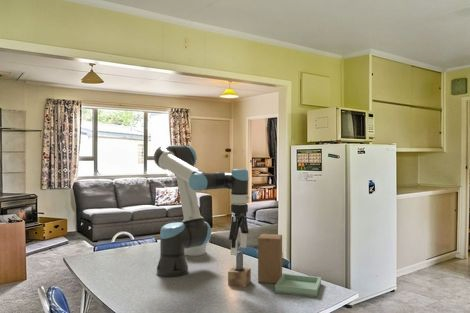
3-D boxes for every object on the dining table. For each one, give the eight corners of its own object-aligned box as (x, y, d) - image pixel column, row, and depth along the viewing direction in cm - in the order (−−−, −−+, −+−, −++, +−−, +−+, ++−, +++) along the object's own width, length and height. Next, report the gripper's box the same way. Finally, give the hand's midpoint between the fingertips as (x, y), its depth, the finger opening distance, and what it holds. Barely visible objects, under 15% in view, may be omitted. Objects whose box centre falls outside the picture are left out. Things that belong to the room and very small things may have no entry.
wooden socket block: (228, 285, 167) (228, 271, 167) (233, 279, 174) (233, 266, 174) (245, 287, 164) (245, 273, 164) (250, 281, 172) (250, 268, 172)
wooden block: (280, 284, 168) (280, 238, 168) (257, 282, 170) (257, 237, 170) (282, 277, 178) (282, 234, 178) (261, 275, 180) (261, 233, 180)
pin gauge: (235, 283, 168) (235, 252, 168) (237, 281, 171) (237, 250, 171) (241, 284, 167) (241, 252, 167) (243, 282, 170) (243, 251, 170)
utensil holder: (205, 256, 216) (205, 225, 216) (179, 256, 216) (179, 225, 216) (207, 249, 230) (207, 220, 231) (183, 249, 231) (183, 220, 231)
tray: (274, 292, 157) (274, 285, 157) (283, 280, 173) (283, 273, 173) (316, 297, 152) (316, 289, 152) (321, 284, 168) (321, 277, 168)
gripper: (238, 207, 156) (238, 259, 156) (255, 200, 180) (254, 245, 180) (221, 206, 159) (221, 257, 159) (240, 199, 182) (239, 244, 182)
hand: (238, 251), depth 169 cm, fingers open, 13 cm apart
